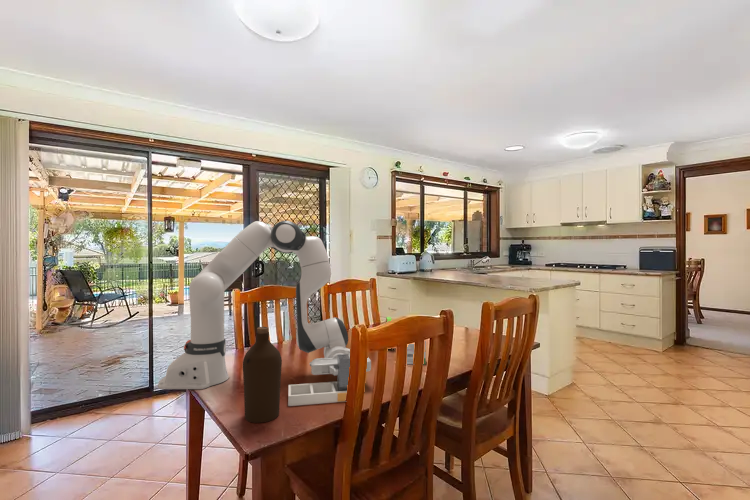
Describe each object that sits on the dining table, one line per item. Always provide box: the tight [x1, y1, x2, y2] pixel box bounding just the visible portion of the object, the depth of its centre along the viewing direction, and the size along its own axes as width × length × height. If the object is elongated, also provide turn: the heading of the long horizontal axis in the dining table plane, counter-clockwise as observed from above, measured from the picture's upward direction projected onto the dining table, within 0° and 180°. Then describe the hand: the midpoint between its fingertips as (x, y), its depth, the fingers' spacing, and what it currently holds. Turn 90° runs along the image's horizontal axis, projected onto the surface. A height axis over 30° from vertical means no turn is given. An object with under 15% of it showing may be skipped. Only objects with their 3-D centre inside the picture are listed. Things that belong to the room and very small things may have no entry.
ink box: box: [406, 340, 427, 365], centre depth 158 cm, size 8×5×12 cm, turn 88°
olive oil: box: [242, 326, 283, 424], centre depth 107 cm, size 11×11×25 cm
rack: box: [287, 381, 347, 407], centre depth 120 cm, size 21×10×3 cm, turn 103°
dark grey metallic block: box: [336, 354, 350, 391], centre depth 122 cm, size 4×5×11 cm
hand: (344, 372), depth 121 cm, fingers closed on dark grey metallic block, 3 cm apart
